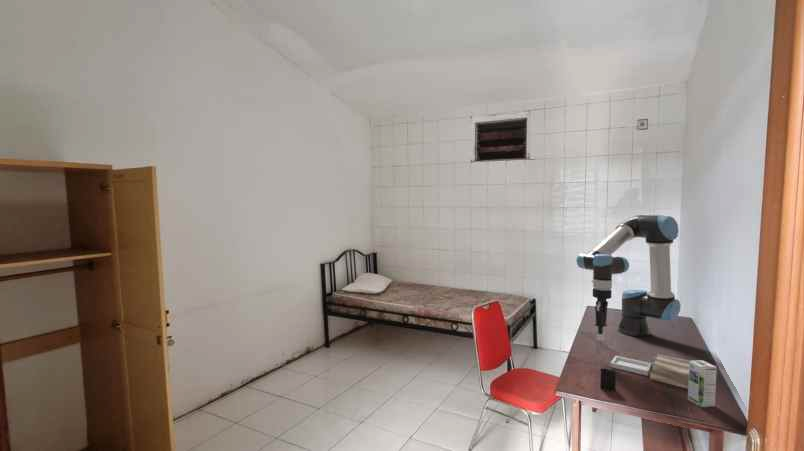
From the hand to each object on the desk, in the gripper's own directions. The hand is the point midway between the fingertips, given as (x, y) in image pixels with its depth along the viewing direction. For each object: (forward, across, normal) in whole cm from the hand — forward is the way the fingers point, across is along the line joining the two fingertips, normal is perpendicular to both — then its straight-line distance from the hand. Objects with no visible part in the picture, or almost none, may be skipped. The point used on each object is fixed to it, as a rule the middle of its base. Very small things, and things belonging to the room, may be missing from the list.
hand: (600, 340), depth 175 cm
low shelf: (+9, -1, +27) cm, 29 cm away
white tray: (+10, 0, +12) cm, 16 cm away
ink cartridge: (+10, +26, +9) cm, 30 cm away
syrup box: (+10, +18, +37) cm, 42 cm away
